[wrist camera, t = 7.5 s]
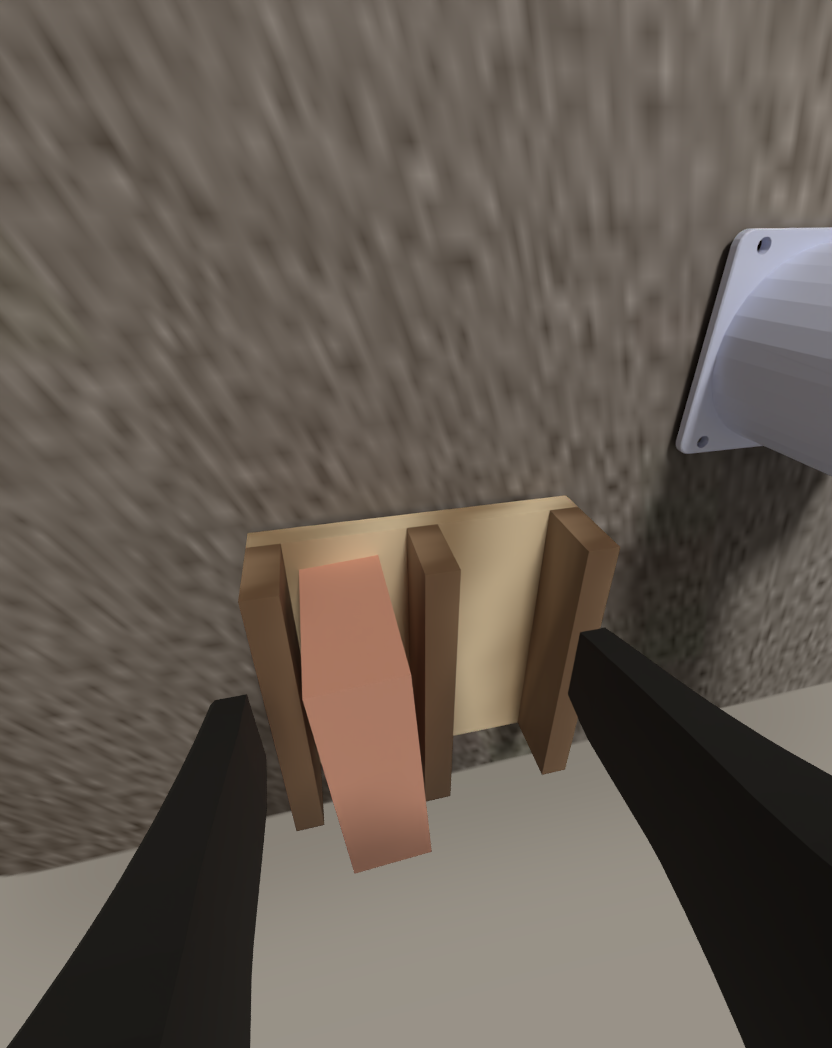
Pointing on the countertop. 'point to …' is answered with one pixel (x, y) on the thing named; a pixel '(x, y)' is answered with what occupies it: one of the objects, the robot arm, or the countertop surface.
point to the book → (363, 711)
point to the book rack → (441, 625)
